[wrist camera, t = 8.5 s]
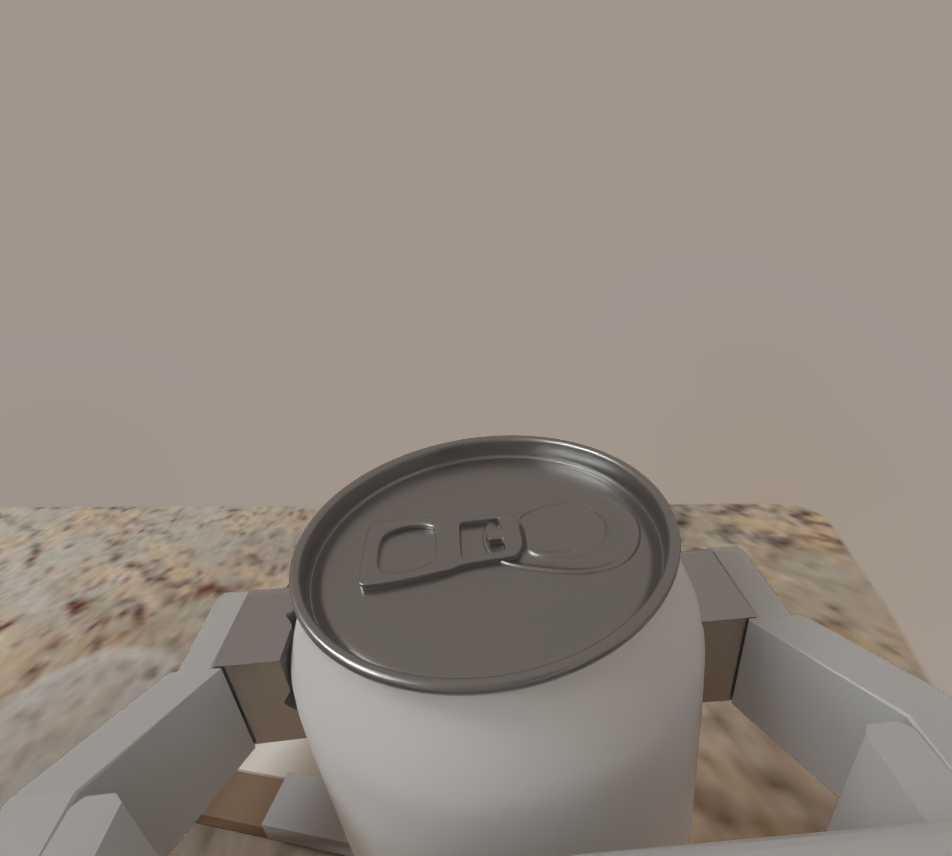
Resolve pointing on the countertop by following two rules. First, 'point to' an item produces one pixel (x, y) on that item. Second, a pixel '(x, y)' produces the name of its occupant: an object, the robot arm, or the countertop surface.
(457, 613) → the can
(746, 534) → the countertop surface
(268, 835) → the clipboard
